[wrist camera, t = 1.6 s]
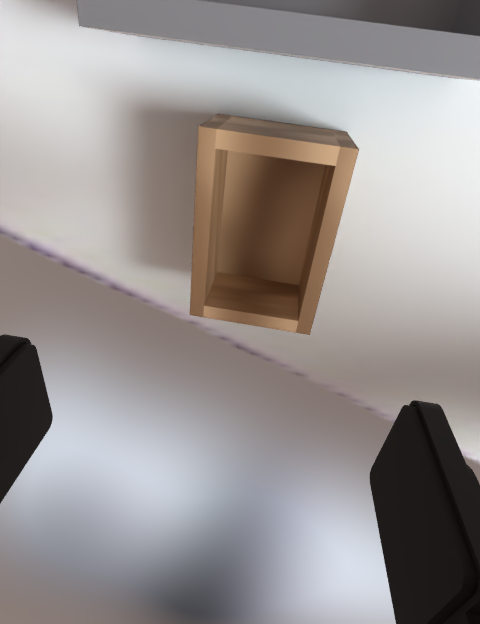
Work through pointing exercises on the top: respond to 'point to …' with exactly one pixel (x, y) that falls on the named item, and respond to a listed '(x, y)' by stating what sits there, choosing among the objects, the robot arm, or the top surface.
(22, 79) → the top surface
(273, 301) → the box
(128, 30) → the grey open box
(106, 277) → the top surface
